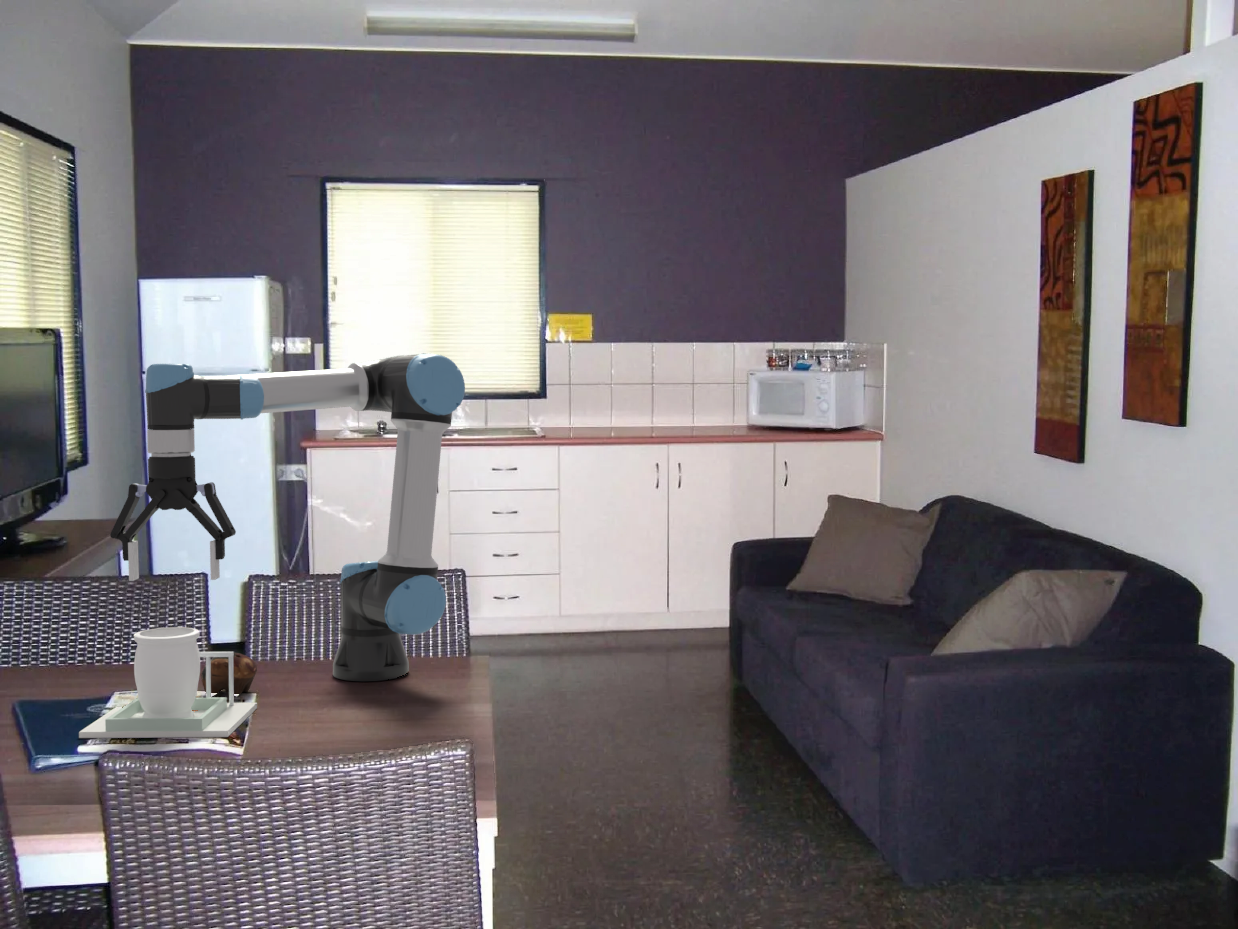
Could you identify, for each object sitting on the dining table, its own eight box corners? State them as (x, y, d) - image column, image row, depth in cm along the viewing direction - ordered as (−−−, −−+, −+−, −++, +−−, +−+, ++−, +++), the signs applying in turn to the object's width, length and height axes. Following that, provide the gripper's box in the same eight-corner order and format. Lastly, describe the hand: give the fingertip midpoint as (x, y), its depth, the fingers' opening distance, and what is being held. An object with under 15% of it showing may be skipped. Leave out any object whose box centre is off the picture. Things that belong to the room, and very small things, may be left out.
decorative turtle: (192, 704, 221) (190, 660, 221) (215, 690, 236) (213, 649, 236) (246, 700, 222) (244, 656, 222) (265, 687, 237) (263, 646, 237)
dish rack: (257, 708, 218) (256, 649, 218) (227, 737, 199) (227, 673, 199) (121, 709, 217) (120, 650, 217) (79, 738, 198) (77, 673, 198)
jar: (161, 731, 199) (160, 640, 198) (121, 722, 204) (120, 633, 204) (213, 717, 208) (213, 630, 207) (174, 708, 213) (173, 624, 213)
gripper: (251, 453, 210) (254, 575, 211) (104, 454, 209) (108, 576, 210) (240, 455, 202) (243, 581, 204) (87, 456, 201) (91, 583, 202)
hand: (174, 579), depth 207 cm, fingers open, 13 cm apart
